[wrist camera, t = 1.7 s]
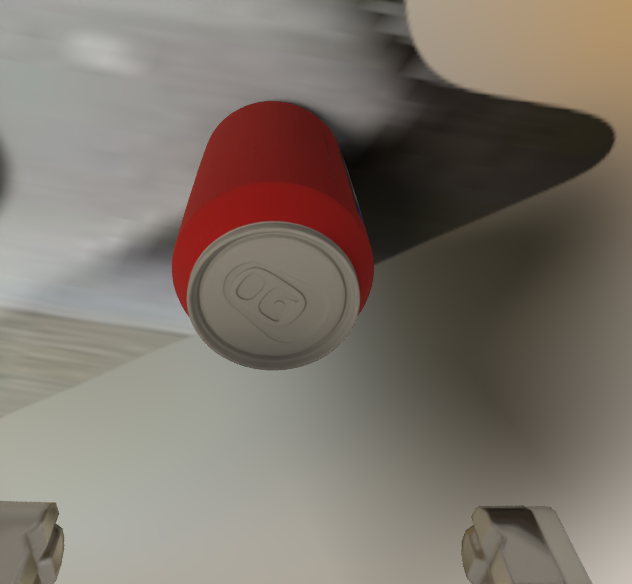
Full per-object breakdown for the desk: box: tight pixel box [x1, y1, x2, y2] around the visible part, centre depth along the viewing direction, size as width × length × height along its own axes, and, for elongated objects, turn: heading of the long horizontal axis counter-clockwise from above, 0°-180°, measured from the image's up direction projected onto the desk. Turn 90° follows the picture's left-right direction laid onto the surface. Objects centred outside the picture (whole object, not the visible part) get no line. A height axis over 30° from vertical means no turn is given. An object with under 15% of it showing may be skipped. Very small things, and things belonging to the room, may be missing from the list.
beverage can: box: [172, 101, 374, 370], centre depth 22 cm, size 7×7×12 cm
